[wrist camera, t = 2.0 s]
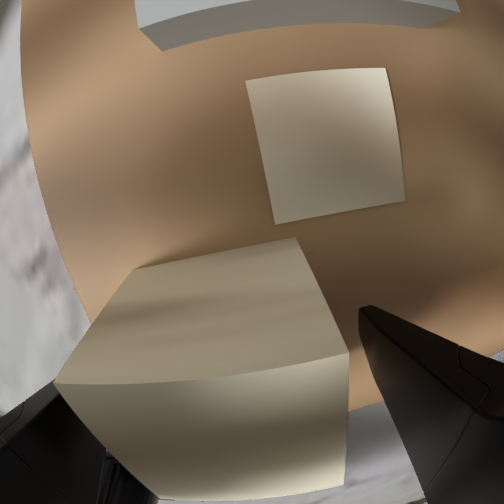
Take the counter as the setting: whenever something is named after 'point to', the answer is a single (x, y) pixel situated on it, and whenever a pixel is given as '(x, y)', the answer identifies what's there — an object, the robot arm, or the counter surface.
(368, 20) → the grey slab
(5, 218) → the counter surface
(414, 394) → the robot arm
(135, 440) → the birch cube
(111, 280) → the baseplate
